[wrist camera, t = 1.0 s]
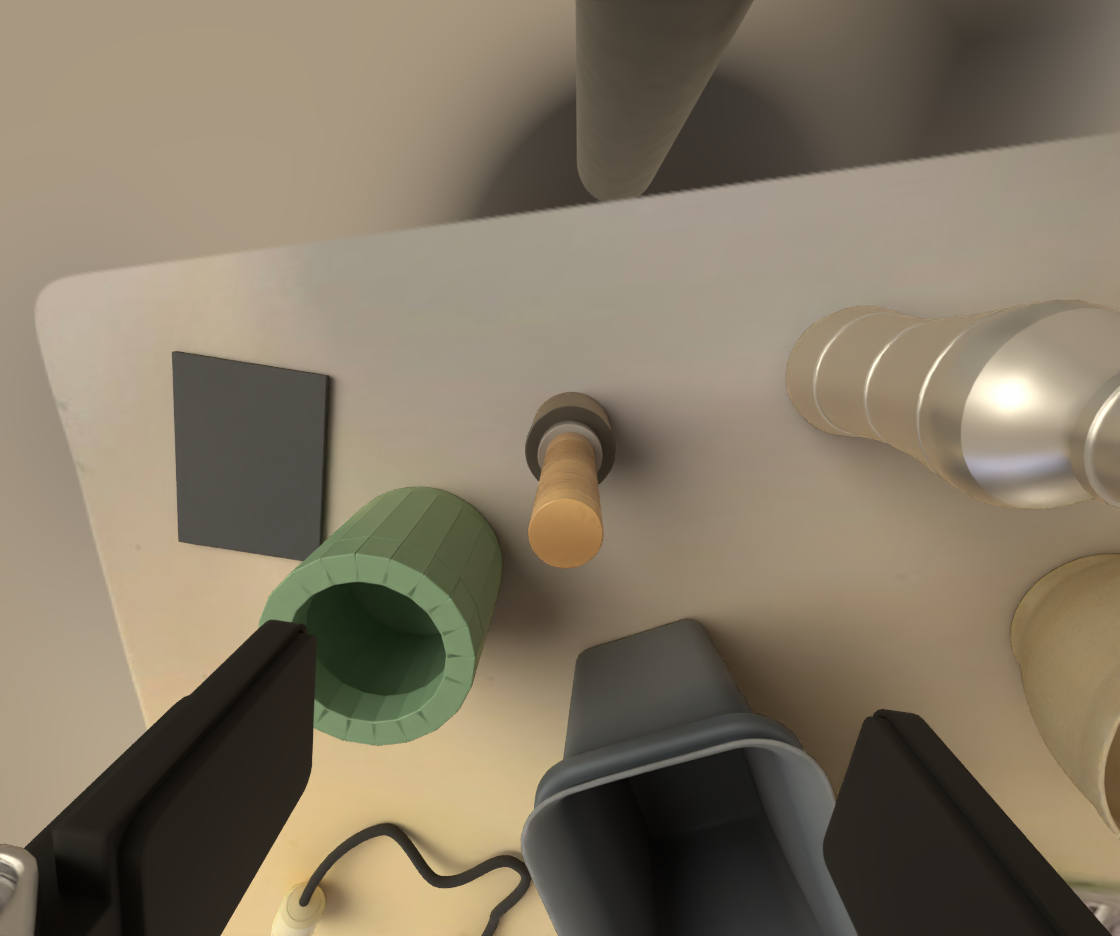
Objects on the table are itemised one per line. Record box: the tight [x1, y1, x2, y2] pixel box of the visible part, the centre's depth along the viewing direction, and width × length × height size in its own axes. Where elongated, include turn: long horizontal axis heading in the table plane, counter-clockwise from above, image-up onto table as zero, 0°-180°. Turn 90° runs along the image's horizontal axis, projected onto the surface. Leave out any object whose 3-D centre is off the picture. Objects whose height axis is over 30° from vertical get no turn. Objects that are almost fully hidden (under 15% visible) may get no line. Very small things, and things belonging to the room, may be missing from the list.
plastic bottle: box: [786, 300, 1120, 509], centre depth 22 cm, size 6×7×20 cm
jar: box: [259, 487, 502, 746], centre depth 31 cm, size 10×10×10 cm
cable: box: [271, 824, 531, 936], centre depth 42 cm, size 16×16×4 cm
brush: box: [525, 392, 616, 568], centre depth 25 cm, size 5×5×16 cm
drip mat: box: [172, 351, 329, 561], centre depth 34 cm, size 12×9×1 cm
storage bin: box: [521, 619, 858, 936], centre depth 32 cm, size 21×16×14 cm
